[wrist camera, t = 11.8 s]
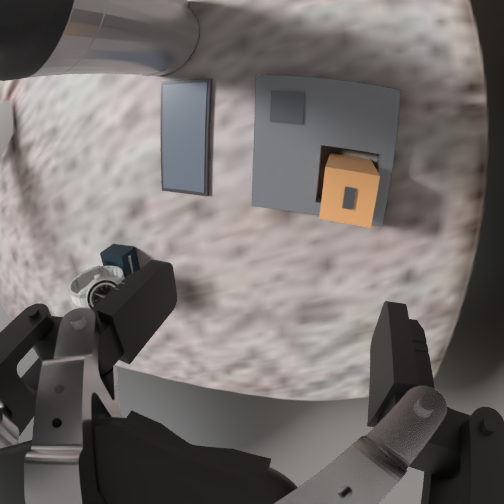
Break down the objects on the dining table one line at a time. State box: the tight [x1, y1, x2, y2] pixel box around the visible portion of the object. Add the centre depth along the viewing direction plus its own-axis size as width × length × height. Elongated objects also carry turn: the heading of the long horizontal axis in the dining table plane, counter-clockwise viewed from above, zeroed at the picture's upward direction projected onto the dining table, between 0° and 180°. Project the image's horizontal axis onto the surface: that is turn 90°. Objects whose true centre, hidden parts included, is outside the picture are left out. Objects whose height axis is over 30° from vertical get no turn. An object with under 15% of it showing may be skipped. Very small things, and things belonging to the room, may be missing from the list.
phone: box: [161, 79, 212, 196], centre depth 30 cm, size 6×13×1 cm, turn 176°
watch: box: [69, 244, 140, 309], centre depth 37 cm, size 6×8×11 cm
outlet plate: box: [252, 75, 400, 226], centre depth 26 cm, size 13×13×2 cm
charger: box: [319, 153, 380, 228], centre depth 24 cm, size 4×4×8 cm
